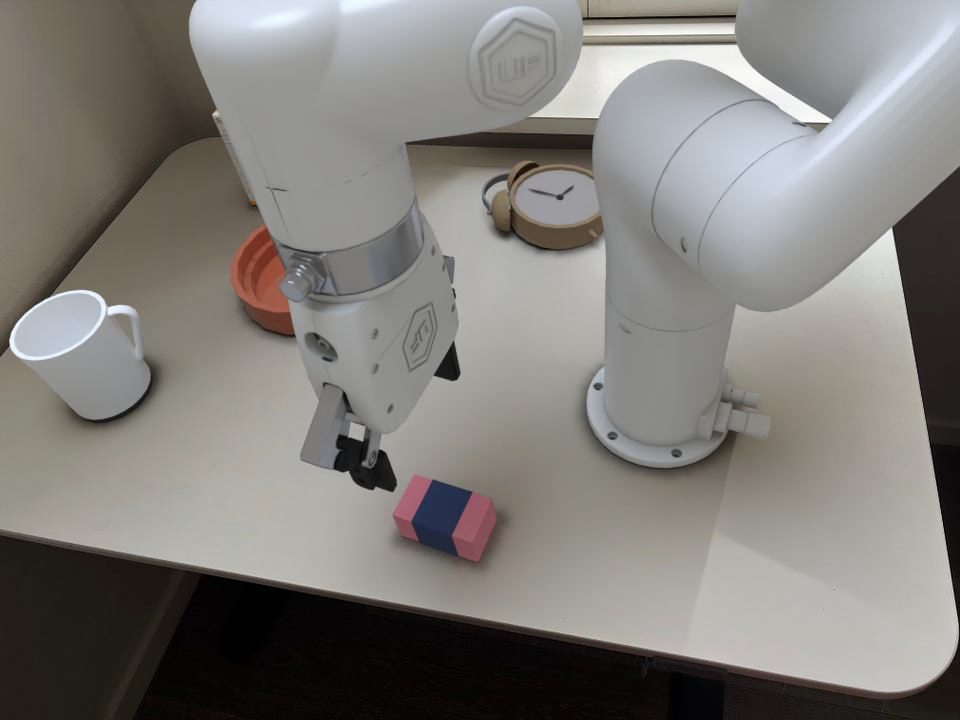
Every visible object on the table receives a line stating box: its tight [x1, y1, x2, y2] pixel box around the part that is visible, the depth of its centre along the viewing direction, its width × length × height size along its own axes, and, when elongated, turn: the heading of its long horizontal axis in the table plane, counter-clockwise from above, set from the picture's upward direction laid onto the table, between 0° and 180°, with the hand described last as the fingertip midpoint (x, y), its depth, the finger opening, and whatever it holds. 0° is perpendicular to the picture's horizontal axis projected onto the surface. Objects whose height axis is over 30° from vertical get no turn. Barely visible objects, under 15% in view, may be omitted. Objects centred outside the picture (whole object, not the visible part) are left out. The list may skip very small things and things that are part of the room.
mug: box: [8, 289, 153, 423], centre depth 71 cm, size 11×9×10 cm
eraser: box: [392, 473, 498, 563], centre depth 58 cm, size 7×4×4 cm, turn 67°
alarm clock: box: [481, 160, 604, 250], centre depth 82 cm, size 11×5×15 cm
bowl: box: [230, 223, 295, 335], centre depth 80 cm, size 18×18×4 cm
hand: (409, 425), depth 50 cm, fingers open, 9 cm apart
